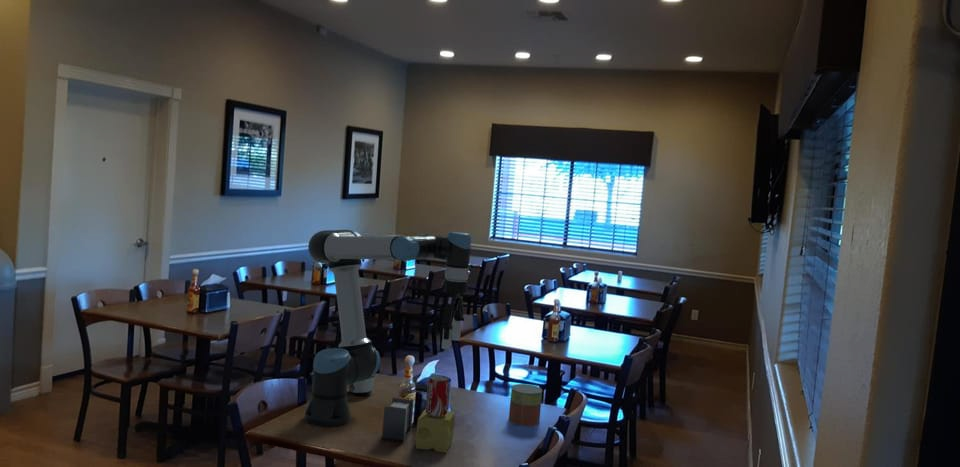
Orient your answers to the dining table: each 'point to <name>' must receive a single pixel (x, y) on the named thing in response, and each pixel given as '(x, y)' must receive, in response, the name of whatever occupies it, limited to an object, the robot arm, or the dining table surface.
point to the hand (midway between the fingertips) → (450, 344)
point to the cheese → (435, 432)
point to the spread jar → (362, 387)
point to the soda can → (437, 396)
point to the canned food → (525, 405)
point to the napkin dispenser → (397, 420)
